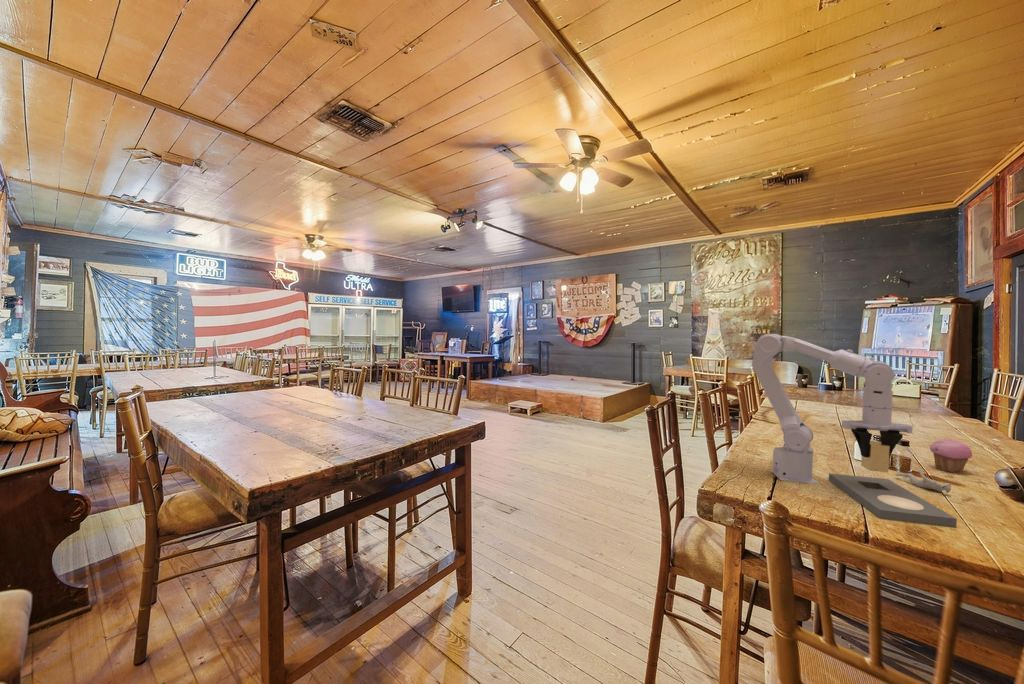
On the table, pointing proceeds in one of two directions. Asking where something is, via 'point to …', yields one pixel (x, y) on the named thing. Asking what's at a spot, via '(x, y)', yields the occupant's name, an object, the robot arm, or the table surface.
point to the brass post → (877, 457)
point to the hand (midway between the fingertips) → (874, 457)
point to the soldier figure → (925, 482)
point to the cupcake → (950, 455)
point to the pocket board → (891, 500)
